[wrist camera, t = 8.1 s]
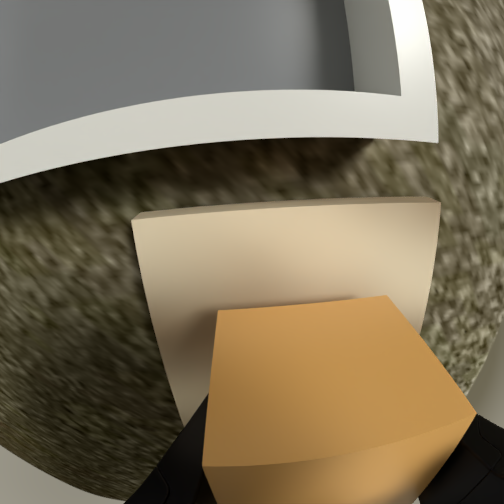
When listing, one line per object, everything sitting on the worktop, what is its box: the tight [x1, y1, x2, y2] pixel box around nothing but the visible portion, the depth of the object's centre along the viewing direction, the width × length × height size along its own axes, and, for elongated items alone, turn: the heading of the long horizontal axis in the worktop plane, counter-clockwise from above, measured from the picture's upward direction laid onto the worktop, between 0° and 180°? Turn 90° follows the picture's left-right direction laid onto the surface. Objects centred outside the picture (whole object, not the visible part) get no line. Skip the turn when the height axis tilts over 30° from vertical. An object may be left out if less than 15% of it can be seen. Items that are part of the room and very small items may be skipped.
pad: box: [131, 197, 441, 427], centre depth 11 cm, size 10×10×1 cm
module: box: [202, 295, 477, 504], centre depth 7 cm, size 5×5×5 cm
